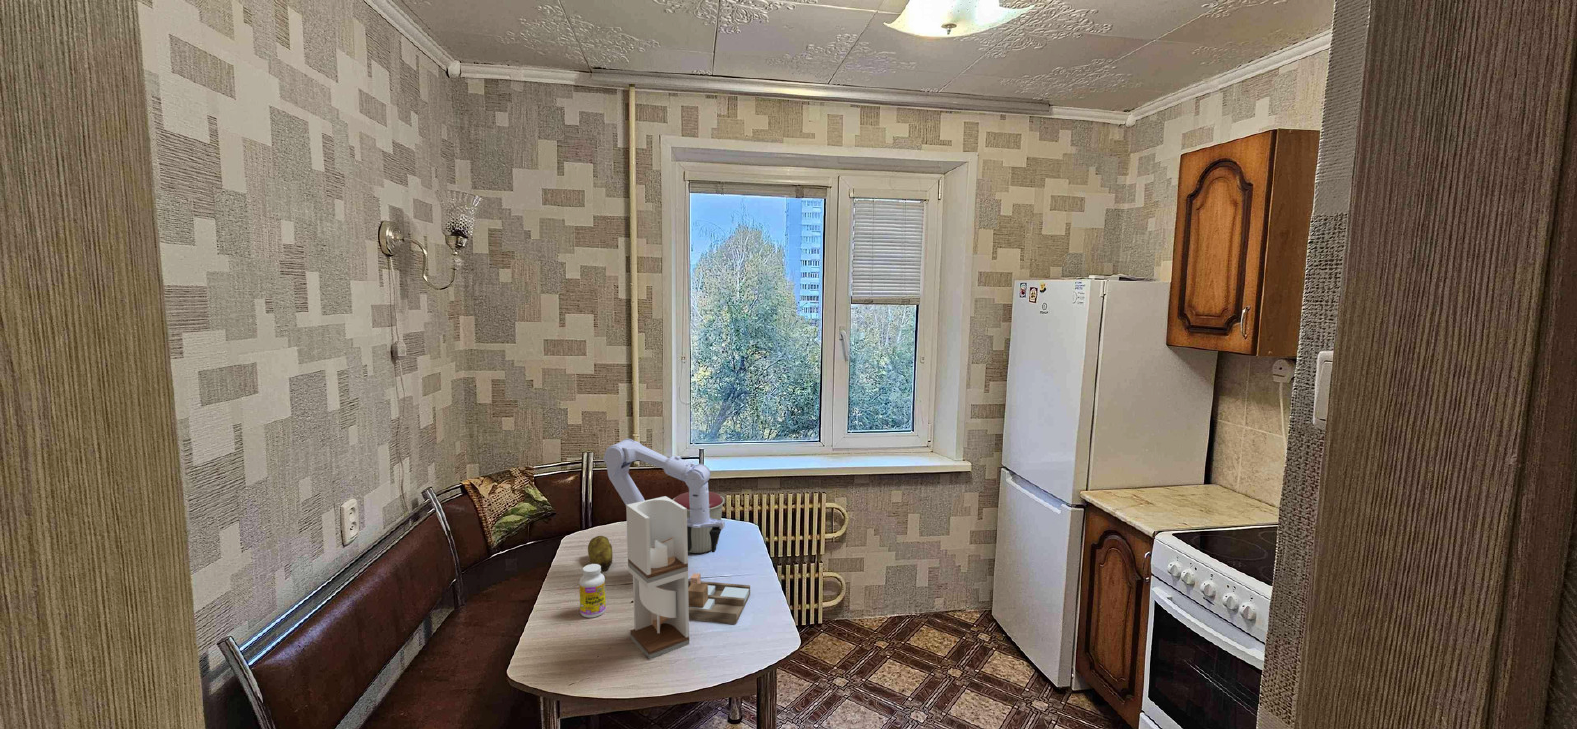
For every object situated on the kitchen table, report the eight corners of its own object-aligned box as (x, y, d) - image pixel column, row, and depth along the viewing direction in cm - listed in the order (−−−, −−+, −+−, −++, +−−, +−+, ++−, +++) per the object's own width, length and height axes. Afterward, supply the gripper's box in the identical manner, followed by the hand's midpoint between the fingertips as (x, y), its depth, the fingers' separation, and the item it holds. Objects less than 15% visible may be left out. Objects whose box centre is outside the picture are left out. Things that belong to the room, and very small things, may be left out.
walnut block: (687, 606, 166) (686, 590, 166) (692, 598, 171) (692, 582, 170) (703, 608, 165) (702, 592, 165) (708, 599, 170) (707, 584, 169)
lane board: (657, 616, 166) (656, 606, 166) (677, 588, 182) (677, 579, 181) (736, 624, 162) (736, 614, 162) (750, 594, 178) (750, 585, 178)
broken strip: (689, 598, 174) (689, 580, 173) (695, 589, 179) (695, 571, 178) (744, 603, 171) (744, 584, 170) (749, 593, 176) (748, 575, 176)
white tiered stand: (630, 638, 156) (626, 504, 151) (668, 624, 162) (665, 496, 158) (649, 659, 147) (645, 518, 142) (689, 644, 153) (686, 508, 149)
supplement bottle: (582, 621, 163) (580, 575, 162) (578, 609, 169) (576, 565, 168) (608, 615, 167) (606, 570, 165) (603, 604, 172) (601, 560, 171)
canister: (735, 544, 213) (735, 485, 211) (701, 563, 198) (700, 500, 195) (695, 533, 223) (694, 476, 220) (660, 550, 208) (659, 490, 205)
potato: (584, 574, 190) (583, 549, 189) (589, 556, 203) (589, 533, 202) (612, 572, 192) (611, 547, 191) (615, 554, 204) (615, 531, 203)
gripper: (671, 510, 179) (673, 554, 181) (718, 512, 176) (720, 557, 178) (680, 502, 186) (682, 545, 188) (726, 503, 183) (727, 547, 185)
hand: (701, 550), depth 183 cm, fingers open, 7 cm apart
